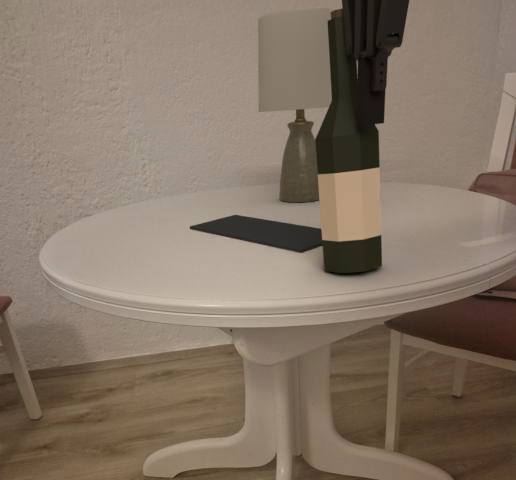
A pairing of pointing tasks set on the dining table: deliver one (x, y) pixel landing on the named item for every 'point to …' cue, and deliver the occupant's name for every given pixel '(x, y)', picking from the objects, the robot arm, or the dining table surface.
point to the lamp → (295, 88)
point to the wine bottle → (347, 169)
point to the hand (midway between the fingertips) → (370, 123)
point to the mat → (265, 232)
